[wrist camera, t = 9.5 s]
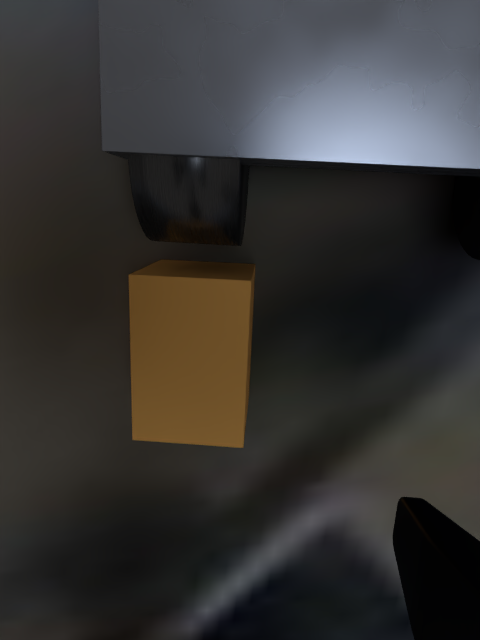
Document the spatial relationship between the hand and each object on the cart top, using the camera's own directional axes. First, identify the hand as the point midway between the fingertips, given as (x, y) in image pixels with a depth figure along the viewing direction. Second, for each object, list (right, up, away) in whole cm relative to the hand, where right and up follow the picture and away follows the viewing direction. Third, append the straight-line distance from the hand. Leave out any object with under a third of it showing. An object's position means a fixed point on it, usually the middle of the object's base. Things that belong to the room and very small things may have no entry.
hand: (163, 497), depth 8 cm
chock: (0, +3, +11) cm, 11 cm away
